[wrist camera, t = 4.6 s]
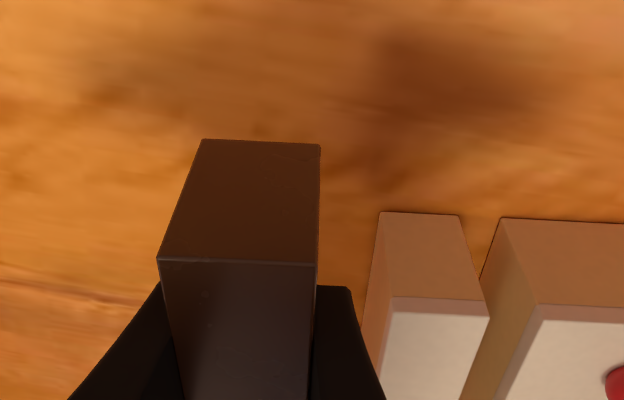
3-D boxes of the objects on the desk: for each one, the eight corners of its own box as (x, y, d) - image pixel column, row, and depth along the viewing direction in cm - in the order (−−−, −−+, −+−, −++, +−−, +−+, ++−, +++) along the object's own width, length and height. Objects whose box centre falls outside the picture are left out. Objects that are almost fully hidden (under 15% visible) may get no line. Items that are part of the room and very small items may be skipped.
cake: (566, 379, 26) (625, 520, 21) (446, 373, 26) (475, 512, 21) (656, 225, 20) (771, 370, 15) (500, 217, 20) (560, 359, 15)
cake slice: (414, 371, 26) (430, 474, 22) (354, 368, 26) (359, 471, 22) (458, 214, 20) (491, 317, 16) (379, 210, 20) (393, 312, 16)
